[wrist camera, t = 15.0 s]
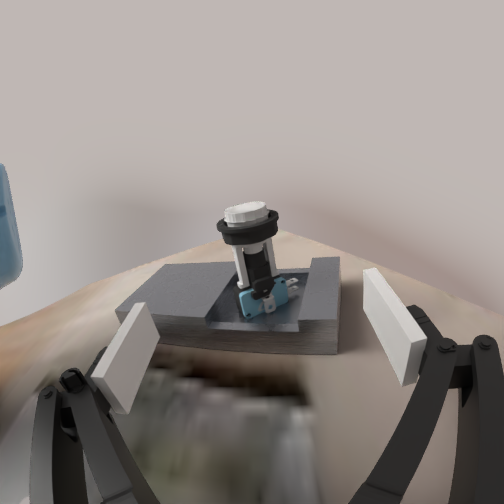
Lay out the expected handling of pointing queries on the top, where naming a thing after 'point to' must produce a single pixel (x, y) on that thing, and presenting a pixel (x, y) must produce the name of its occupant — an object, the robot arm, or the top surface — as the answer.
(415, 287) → the top surface
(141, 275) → the top surface
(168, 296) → the grey recessed block
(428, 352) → the robot arm
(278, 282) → the push button
